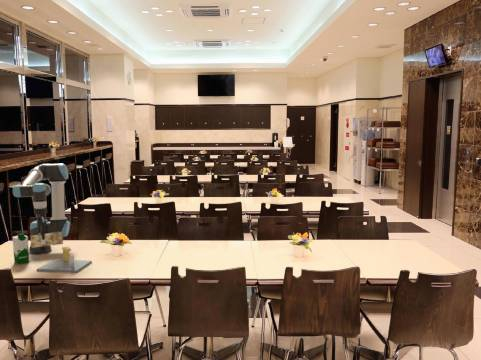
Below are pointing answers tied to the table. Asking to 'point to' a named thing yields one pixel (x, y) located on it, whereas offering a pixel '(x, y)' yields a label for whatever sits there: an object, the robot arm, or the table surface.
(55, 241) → the link
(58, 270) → the deck
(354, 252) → the table surface
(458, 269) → the table surface
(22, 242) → the milk carton
